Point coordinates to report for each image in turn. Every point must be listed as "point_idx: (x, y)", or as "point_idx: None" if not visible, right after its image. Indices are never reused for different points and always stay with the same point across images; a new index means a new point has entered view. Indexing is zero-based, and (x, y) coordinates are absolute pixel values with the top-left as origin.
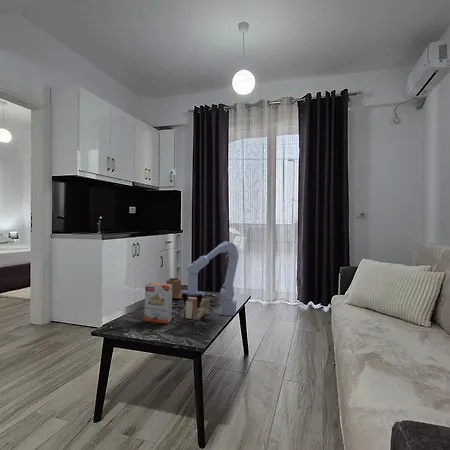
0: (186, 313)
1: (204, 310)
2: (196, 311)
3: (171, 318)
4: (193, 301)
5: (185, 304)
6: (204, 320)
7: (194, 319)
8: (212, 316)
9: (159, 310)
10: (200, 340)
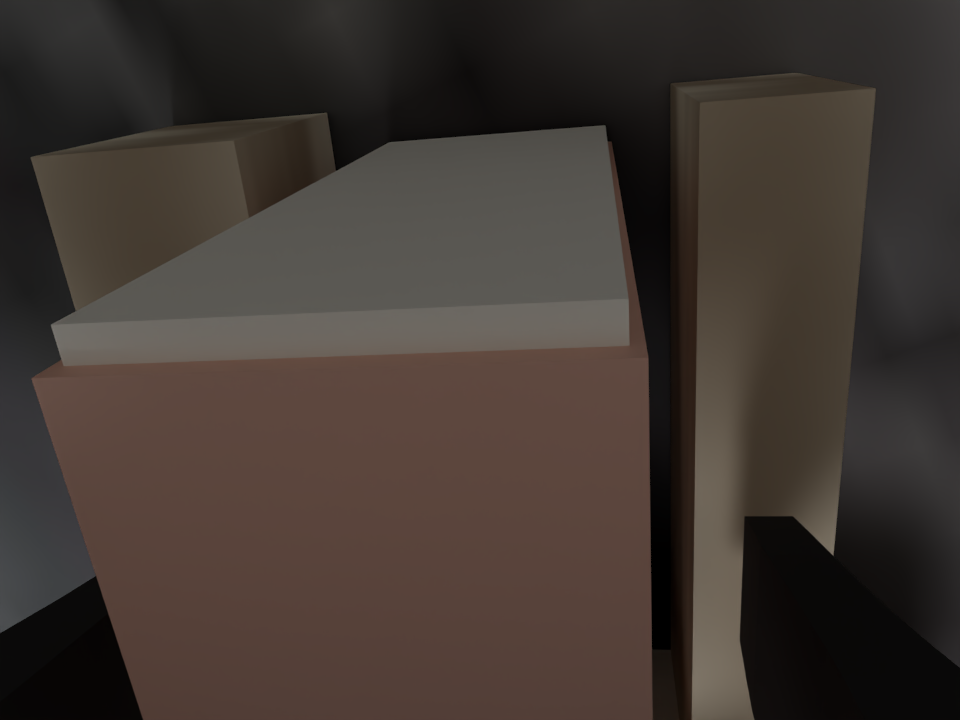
0: (569, 146)
1: None
2: None
3: None
4: (122, 557)
5: (799, 568)
6: (5, 168)
7: (284, 118)
8: (45, 547)
9: None
10: None
